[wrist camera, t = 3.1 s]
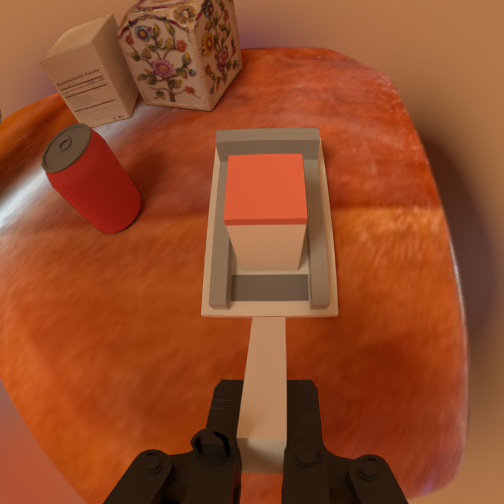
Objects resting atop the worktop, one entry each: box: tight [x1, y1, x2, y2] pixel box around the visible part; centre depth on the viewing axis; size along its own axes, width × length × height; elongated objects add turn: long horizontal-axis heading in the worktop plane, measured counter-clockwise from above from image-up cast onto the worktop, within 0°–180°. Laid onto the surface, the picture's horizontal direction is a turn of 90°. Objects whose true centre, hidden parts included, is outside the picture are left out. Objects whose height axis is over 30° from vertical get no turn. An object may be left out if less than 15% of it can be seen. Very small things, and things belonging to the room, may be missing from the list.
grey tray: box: [201, 128, 338, 318], centre depth 28 cm, size 20×12×6 cm, turn 179°
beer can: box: [42, 123, 141, 233], centre depth 27 cm, size 7×7×12 cm
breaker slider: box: [224, 154, 307, 271], centre depth 24 cm, size 5×5×10 cm
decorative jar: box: [117, 0, 242, 111], centre depth 32 cm, size 12×12×18 cm
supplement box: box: [40, 13, 139, 128], centre depth 34 cm, size 9×9×15 cm
